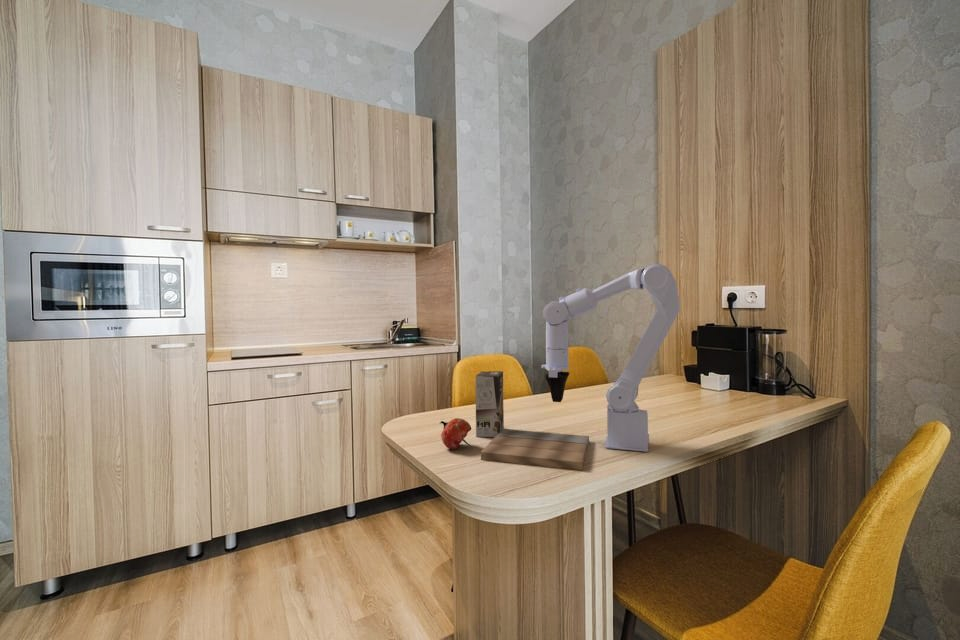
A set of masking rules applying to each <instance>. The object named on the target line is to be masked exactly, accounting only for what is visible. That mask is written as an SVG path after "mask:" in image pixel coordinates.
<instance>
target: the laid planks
mask: <svg viewBox="0 0 960 640" xmlns="http://www.w3.org/2000/svg"><path fill="white" fill-rule="evenodd" d="M587 451H588V448H587V444H580V443H569V442H557V441H546V440H535V439H524V438H512V437H501V436H496V437H495V438H494V437H493V438H492V440H491V441H489V443H488V444H487V445H486V446H485V447H484V448H483V449H482V450H481V451H480V460H484V461H493V462H499V463H500V462H502V463H511V464H517V465H518V464H520V465H530V466H539V467H546V468H547V467H548V468H555V469H556V468H557V469H564V470H565V469H566V470H574V471H583V468H584V467H583V466H584V463H585V460H586V456H587Z"/></svg>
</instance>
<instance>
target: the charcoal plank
mask: <svg viewBox="0 0 960 640" xmlns="http://www.w3.org/2000/svg"><path fill="white" fill-rule="evenodd" d="M497 436H501V437H512V438H524V439H535V440H546V441H557V442H569V443H580V444H587V449H588V448H589V447H588V446H589V443H590V436H589V435H578V434H570V433H569V434H567V433H555V432H545V431H531V430H521V429H520V430H519V429H506V428H503V430H502V431H501V432H500V433H499V434H498V435H497Z"/></svg>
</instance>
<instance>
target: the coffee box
mask: <svg viewBox="0 0 960 640" xmlns="http://www.w3.org/2000/svg"><path fill="white" fill-rule="evenodd" d="M474 378H475V436H476V437H480V438H482V437H483V438H493V439H494V438H495V437H496V436H497V435H498V434H499V433H500V432H501V431H502V430H504V429H505V426H504V422H505V421H504V418H505V417H504V415H505V413H504V371H503V370H502V371H501V370H500V371H499V370H493V371H492V370H491V371H484V370H483V371H480V372H479V373H478V374H476V375H475V377H474Z"/></svg>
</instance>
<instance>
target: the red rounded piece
mask: <svg viewBox="0 0 960 640" xmlns="http://www.w3.org/2000/svg"><path fill="white" fill-rule="evenodd" d="M439 424H440V425H441V424H442V425H443V430H442V431H441V434H440V438H441V442H442V443H443V445H444V446H445V447H446V448H447V449H450V450H453V451H455V450H457V449H458V447H460V445H461V443H462V442H463V443H465V444H466V445H468V446H469V447H470V448H471V449H474V447H473V446H472V445H471V444H470V443H468V442H467V441H466V439H465V438H466V437H467V435H468V433H469V432H470V431H472V427H471V426H472V425H470V423H469V422H468V420H467V421H466V420H465V419H463V418H459V417H457V418H456V417H455V418H453V419H451V420H450V421H448V422H446V421H443V420H441V421H440V422H439Z"/></svg>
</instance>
